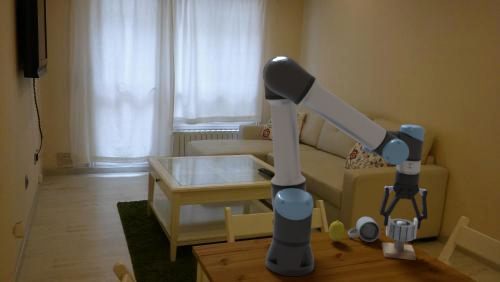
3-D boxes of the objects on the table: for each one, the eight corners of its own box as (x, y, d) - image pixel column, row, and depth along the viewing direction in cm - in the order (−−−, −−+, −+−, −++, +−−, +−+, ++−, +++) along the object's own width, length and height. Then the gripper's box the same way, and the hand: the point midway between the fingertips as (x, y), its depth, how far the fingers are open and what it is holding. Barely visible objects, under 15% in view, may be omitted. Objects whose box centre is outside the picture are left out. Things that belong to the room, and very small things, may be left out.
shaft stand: (384, 256, 155) (388, 225, 153) (381, 246, 164) (384, 216, 162) (415, 260, 154) (419, 229, 152) (410, 249, 162) (414, 219, 160)
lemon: (324, 241, 166) (326, 219, 164) (334, 237, 170) (336, 216, 168) (337, 246, 162) (339, 224, 160) (346, 242, 166) (348, 221, 164)
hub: (390, 240, 154) (391, 226, 153) (386, 231, 162) (388, 217, 161) (415, 242, 153) (416, 228, 152) (410, 233, 161) (412, 219, 160)
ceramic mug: (373, 233, 175) (375, 214, 174) (379, 242, 167) (381, 222, 166) (345, 232, 175) (347, 213, 174) (350, 241, 167) (351, 221, 166)
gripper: (376, 171, 151) (370, 237, 155) (443, 177, 148) (435, 243, 152) (374, 166, 158) (368, 229, 163) (437, 171, 155) (429, 235, 160)
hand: (400, 236), depth 158 cm, fingers closed on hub, 8 cm apart
